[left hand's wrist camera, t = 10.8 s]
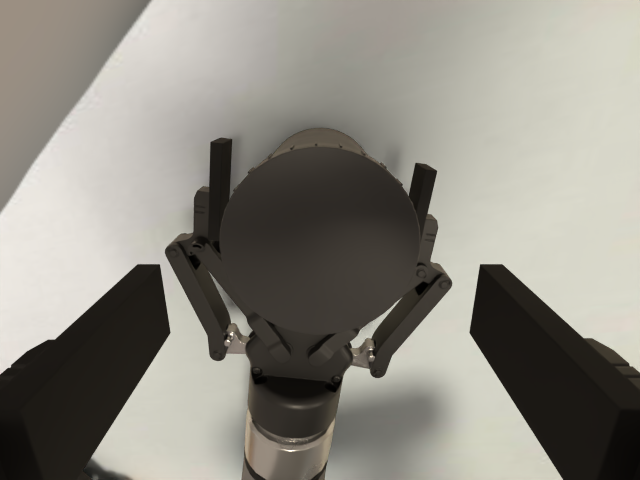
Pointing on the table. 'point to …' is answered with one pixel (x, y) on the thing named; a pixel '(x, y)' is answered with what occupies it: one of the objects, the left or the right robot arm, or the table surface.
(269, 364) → the right robot arm
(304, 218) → the lid
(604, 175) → the table surface
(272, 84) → the table surface
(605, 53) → the table surface
